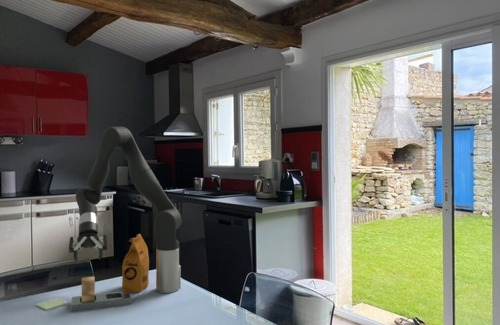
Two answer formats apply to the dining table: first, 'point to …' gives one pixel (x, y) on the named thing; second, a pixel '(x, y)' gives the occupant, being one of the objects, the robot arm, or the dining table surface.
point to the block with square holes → (101, 301)
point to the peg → (88, 289)
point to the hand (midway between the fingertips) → (88, 259)
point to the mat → (52, 304)
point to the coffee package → (136, 266)
